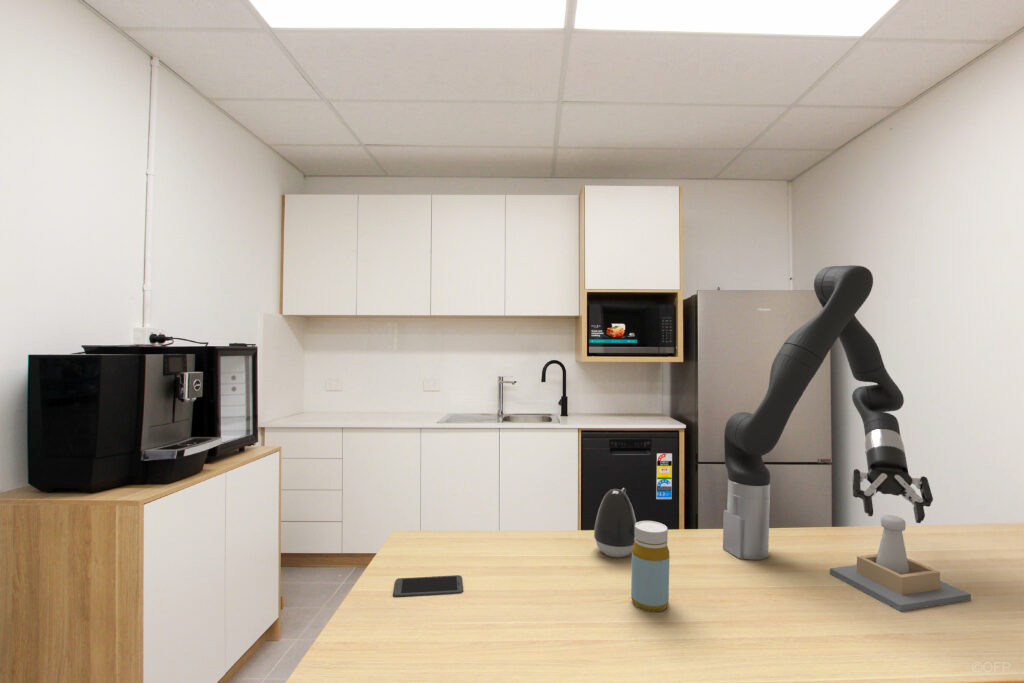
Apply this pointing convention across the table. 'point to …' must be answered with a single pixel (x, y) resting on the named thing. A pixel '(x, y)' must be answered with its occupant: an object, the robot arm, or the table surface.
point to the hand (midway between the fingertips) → (894, 517)
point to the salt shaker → (893, 545)
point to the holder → (900, 584)
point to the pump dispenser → (615, 524)
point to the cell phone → (428, 586)
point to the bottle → (650, 566)
